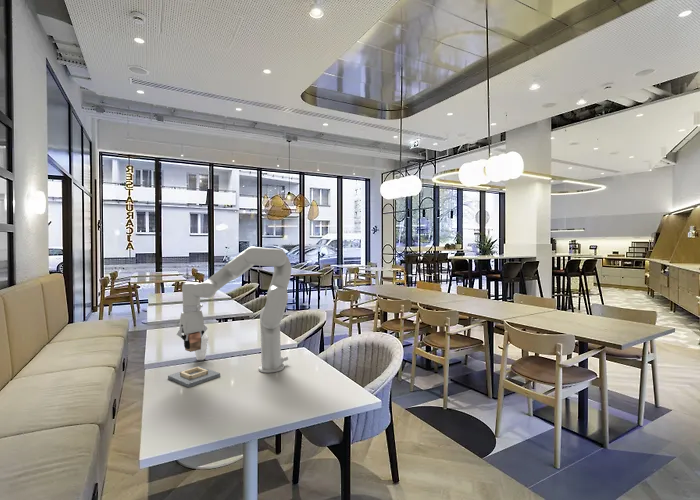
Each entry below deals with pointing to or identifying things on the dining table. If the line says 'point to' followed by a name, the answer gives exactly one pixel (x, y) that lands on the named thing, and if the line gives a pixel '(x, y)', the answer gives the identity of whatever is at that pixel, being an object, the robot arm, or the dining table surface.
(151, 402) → the dining table surface
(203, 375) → the slate board
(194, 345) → the block stack
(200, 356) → the soft serve ice cream cone
